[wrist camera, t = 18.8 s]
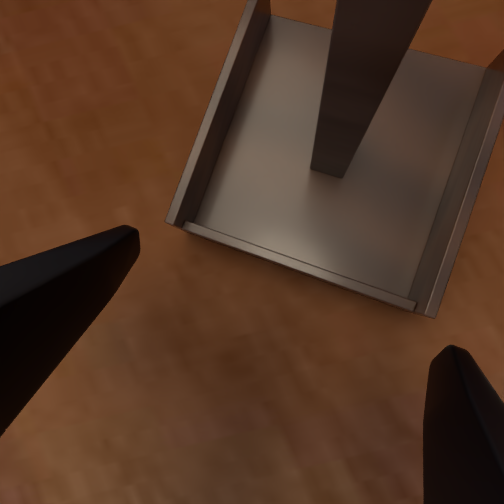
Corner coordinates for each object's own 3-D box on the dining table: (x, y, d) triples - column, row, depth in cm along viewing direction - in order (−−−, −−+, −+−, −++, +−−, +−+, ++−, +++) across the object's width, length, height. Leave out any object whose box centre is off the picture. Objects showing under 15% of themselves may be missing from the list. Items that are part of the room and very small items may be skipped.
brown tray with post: (409, 312, 17) (744, 403, 4) (185, 231, 18) (-31, 133, 6) (489, 77, 17) (993, -440, 5) (263, 20, 19) (212, -465, 7)
